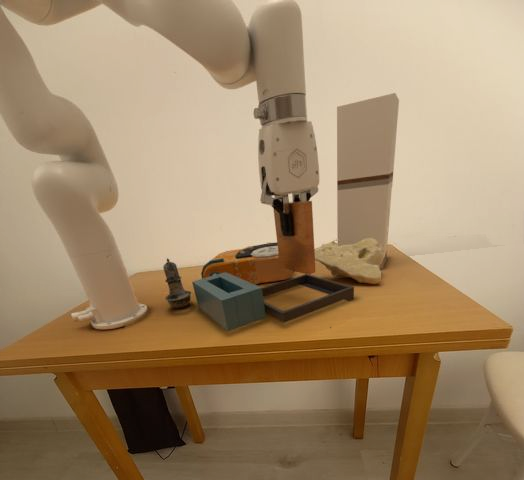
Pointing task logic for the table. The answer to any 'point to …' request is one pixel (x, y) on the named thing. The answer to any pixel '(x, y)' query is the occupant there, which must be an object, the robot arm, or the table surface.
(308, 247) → the wooden plank block
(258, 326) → the table surface
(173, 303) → the dark stone tower figurine
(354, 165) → the refrigerator
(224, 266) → the device
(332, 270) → the beige rock
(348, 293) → the dark rectangular frame
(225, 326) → the blue-grey slotted box
